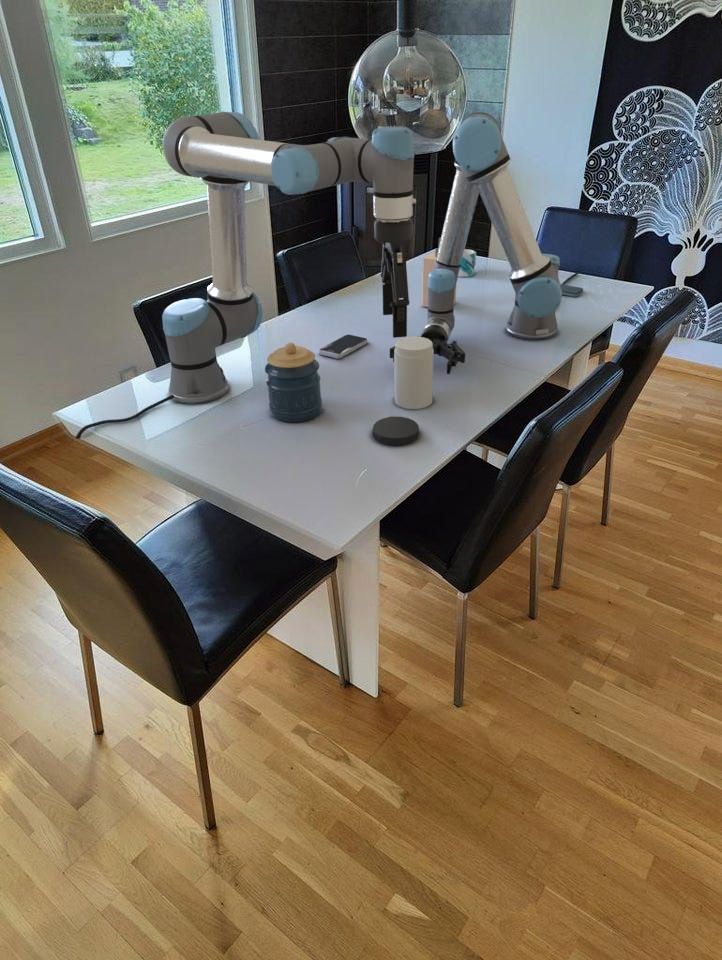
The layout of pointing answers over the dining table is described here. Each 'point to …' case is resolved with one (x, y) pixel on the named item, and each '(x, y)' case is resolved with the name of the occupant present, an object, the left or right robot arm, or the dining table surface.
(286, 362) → the canister
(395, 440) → the lid
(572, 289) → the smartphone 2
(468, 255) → the mug
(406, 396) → the jar
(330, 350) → the smartphone
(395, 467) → the dining table surface
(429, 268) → the soap dispenser
